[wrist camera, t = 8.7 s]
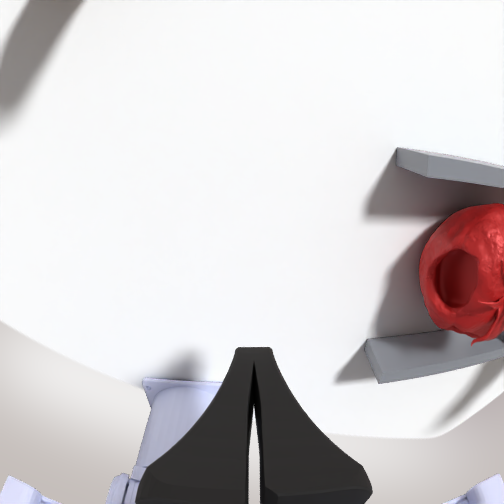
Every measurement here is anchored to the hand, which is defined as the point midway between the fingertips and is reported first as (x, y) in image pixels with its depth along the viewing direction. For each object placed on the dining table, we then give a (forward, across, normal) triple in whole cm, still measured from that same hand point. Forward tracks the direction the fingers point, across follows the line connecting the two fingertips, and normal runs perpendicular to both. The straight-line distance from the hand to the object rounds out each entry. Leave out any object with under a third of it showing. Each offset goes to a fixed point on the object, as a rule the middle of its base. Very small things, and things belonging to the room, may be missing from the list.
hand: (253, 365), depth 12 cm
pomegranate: (+10, -16, -1) cm, 19 cm away
